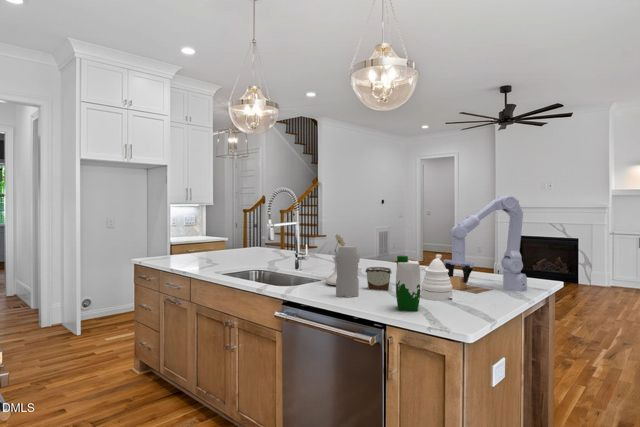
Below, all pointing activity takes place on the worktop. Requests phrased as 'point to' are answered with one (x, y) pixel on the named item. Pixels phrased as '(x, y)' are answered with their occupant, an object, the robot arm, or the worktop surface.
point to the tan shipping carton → (458, 282)
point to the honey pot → (436, 281)
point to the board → (474, 289)
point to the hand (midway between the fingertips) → (458, 281)
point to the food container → (378, 278)
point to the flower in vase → (333, 277)
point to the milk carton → (407, 284)
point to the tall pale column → (347, 271)
